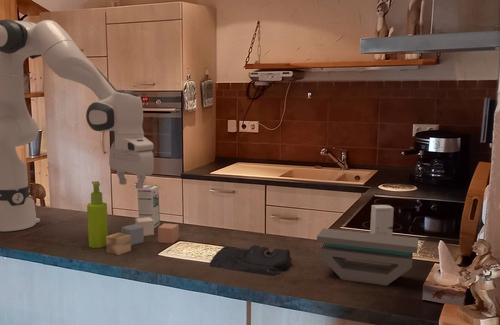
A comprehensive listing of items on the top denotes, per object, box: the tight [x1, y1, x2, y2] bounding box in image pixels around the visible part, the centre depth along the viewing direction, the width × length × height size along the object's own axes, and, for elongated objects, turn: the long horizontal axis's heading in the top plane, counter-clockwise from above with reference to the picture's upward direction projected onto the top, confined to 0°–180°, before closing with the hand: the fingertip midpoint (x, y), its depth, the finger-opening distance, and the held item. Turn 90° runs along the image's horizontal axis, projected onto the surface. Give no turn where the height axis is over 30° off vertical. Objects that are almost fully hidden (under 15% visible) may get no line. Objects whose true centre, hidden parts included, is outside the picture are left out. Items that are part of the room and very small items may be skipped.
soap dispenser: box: [86, 180, 109, 249], centre depth 155 cm, size 6×7×20 cm
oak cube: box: [106, 232, 132, 256], centre depth 150 cm, size 5×5×5 cm
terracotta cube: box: [157, 222, 180, 244], centre depth 161 cm, size 5×5×5 cm
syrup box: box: [136, 184, 161, 229], centre depth 176 cm, size 6×6×14 cm
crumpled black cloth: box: [209, 245, 292, 277], centre depth 141 cm, size 15×22×5 cm
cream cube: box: [134, 217, 155, 237], centre depth 168 cm, size 5×5×5 cm
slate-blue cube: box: [120, 223, 145, 246], centre depth 159 cm, size 5×5×5 cm
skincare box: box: [369, 204, 395, 236], centre depth 159 cm, size 6×4×12 cm
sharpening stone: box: [316, 228, 419, 286], centre depth 131 cm, size 25×8×11 cm, turn 70°
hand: (131, 186), depth 157 cm, fingers open, 8 cm apart
